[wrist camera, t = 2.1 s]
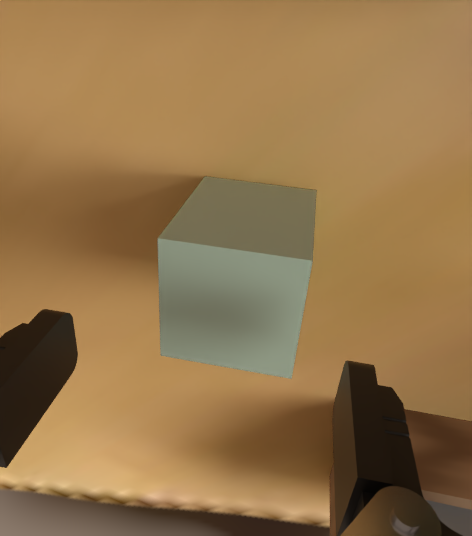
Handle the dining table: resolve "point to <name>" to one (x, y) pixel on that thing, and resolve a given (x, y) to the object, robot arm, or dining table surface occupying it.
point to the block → (236, 275)
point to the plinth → (435, 460)
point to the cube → (454, 517)
